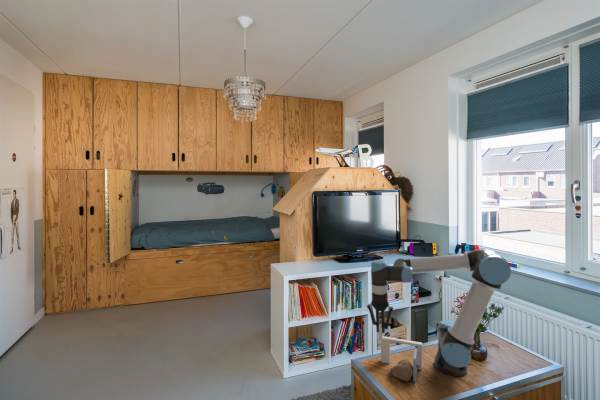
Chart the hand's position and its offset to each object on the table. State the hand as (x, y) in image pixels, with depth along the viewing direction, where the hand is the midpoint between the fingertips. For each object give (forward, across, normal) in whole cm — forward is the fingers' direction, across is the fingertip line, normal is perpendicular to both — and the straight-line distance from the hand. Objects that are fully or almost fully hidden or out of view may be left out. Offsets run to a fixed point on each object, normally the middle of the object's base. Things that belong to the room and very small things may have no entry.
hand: (381, 338), depth 155 cm
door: (+16, -17, -2) cm, 23 cm away
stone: (+17, -10, +1) cm, 19 cm away
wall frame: (+16, -8, -8) cm, 20 cm away
